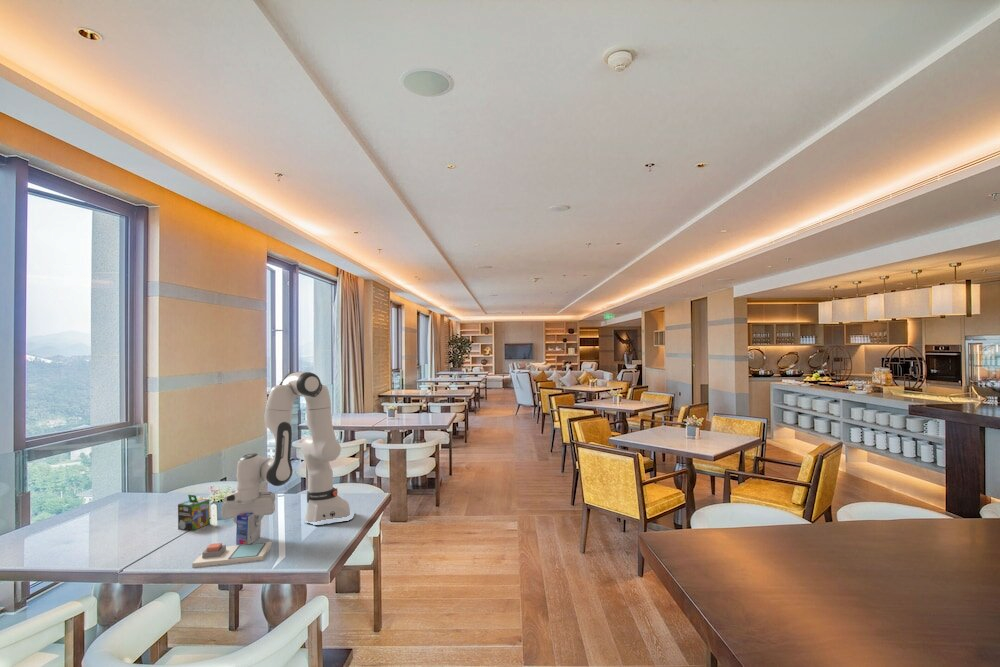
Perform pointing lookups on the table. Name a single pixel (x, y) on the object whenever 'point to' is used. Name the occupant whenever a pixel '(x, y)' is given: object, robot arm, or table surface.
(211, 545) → the button
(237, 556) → the picture board
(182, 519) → the chalk box
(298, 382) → the robot arm
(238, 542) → the ink cartridge box
